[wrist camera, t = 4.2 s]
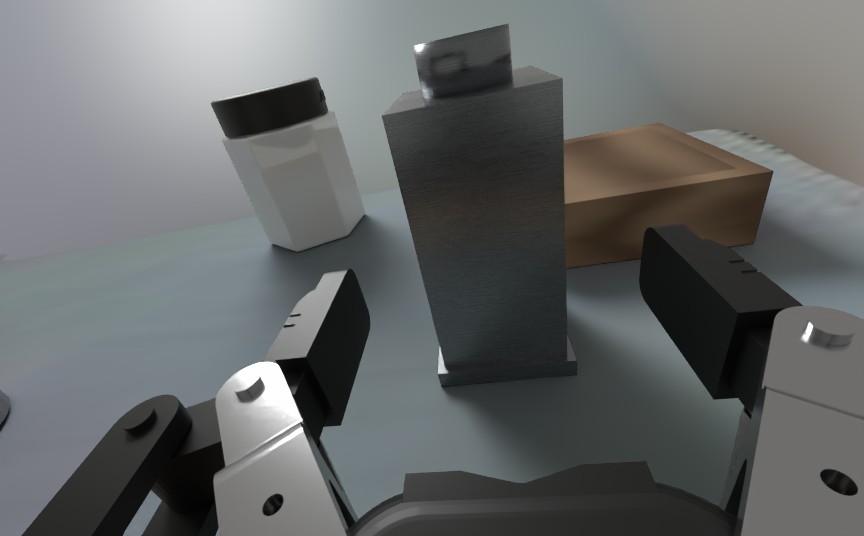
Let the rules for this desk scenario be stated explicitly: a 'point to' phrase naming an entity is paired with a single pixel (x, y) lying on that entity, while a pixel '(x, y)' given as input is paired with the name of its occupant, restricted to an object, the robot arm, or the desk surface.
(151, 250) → the desk surface
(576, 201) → the stand
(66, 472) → the desk surface
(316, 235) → the jar
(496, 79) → the block
